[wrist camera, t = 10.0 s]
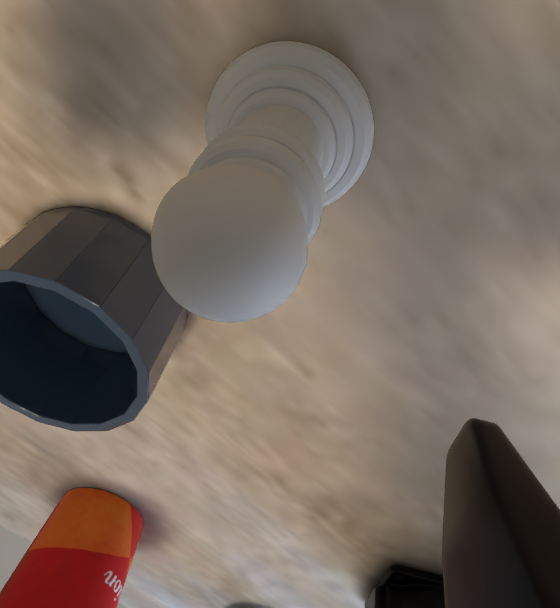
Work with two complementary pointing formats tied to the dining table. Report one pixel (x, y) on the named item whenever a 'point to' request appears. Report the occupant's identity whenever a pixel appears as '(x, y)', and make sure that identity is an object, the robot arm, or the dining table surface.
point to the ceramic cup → (82, 320)
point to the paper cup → (77, 554)
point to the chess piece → (261, 180)
